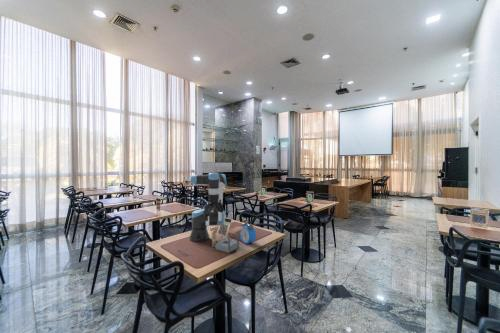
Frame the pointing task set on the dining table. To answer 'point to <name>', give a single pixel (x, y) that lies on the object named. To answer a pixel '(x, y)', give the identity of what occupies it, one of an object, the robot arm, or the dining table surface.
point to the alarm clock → (247, 233)
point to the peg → (213, 238)
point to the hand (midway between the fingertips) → (213, 222)
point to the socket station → (229, 241)
